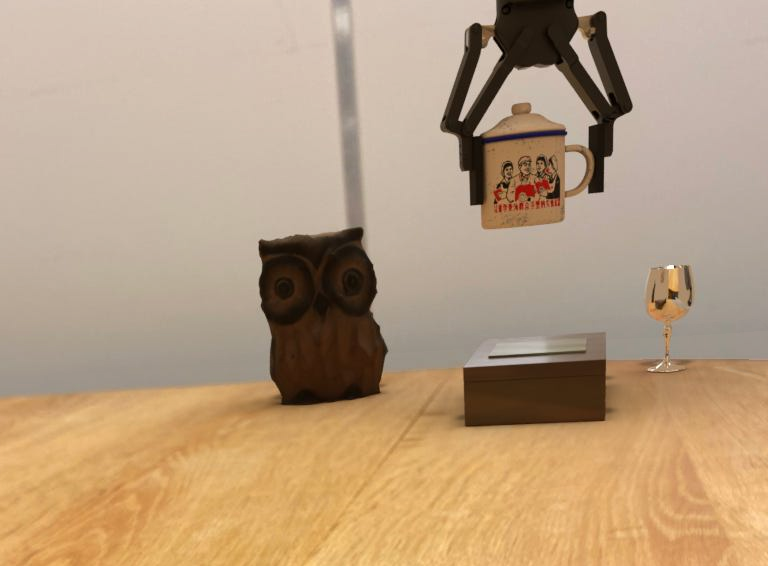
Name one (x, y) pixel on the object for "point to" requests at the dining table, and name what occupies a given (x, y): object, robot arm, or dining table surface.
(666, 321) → the wineglass
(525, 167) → the teacup with lid
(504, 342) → the wooden keepsake box
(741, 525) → the dining table surface
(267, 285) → the owl
